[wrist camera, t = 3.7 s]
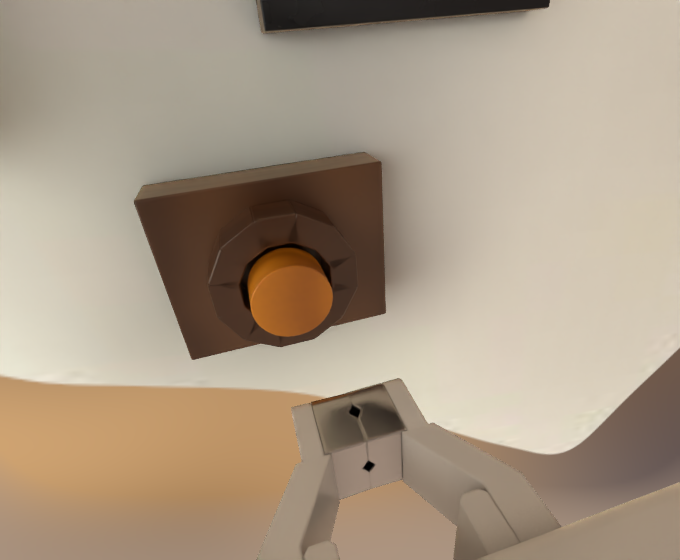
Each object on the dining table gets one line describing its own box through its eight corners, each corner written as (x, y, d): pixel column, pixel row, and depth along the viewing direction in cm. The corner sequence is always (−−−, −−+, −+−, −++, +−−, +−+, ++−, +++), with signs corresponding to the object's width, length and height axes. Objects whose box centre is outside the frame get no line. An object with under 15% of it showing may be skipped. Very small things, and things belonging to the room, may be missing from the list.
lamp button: (255, 320, 17) (259, 345, 15) (239, 255, 15) (242, 276, 14) (326, 304, 18) (336, 326, 16) (318, 240, 16) (328, 258, 14)
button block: (193, 333, 20) (189, 387, 17) (141, 185, 16) (123, 216, 13) (372, 293, 22) (399, 333, 19) (365, 151, 18) (399, 171, 15)
